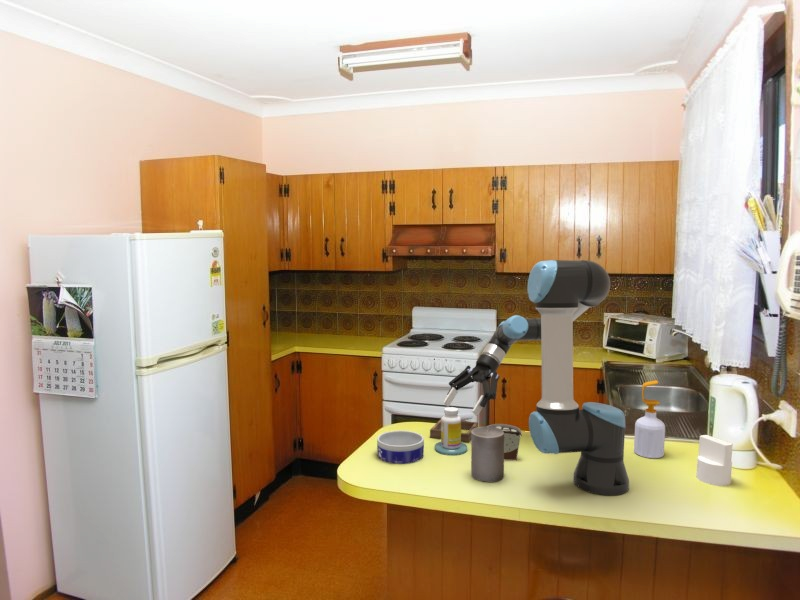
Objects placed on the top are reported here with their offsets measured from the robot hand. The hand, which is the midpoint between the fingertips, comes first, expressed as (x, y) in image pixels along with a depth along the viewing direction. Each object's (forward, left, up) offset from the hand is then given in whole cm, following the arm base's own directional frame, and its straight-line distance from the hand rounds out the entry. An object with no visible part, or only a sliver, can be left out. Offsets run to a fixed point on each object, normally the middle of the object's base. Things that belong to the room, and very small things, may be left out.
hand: (459, 409), depth 195 cm
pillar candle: (-20, -14, -13) cm, 28 cm away
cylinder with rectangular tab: (+2, -77, -13) cm, 78 cm away
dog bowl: (-14, +16, -13) cm, 25 cm away
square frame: (+12, +5, -13) cm, 18 cm away
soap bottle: (+17, -60, -13) cm, 64 cm away
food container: (-3, -15, -13) cm, 20 cm away
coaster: (-3, +2, -13) cm, 14 cm away
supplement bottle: (-3, +2, -12) cm, 13 cm away
